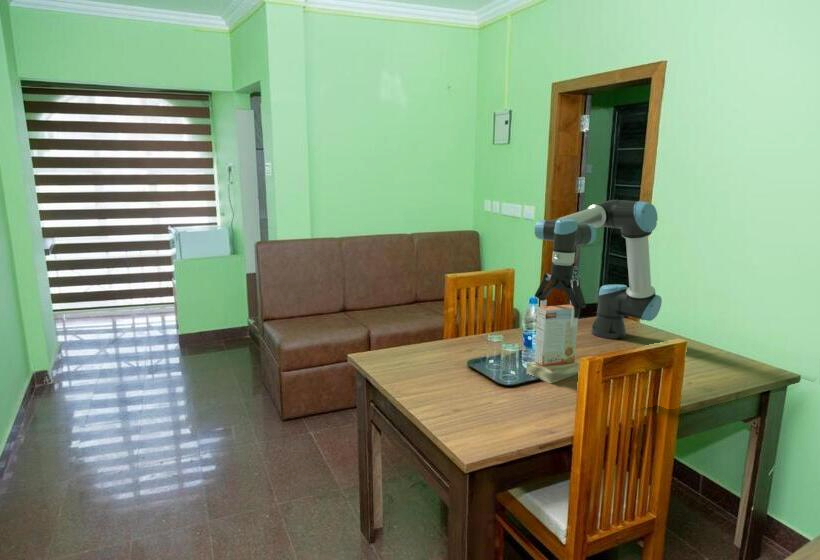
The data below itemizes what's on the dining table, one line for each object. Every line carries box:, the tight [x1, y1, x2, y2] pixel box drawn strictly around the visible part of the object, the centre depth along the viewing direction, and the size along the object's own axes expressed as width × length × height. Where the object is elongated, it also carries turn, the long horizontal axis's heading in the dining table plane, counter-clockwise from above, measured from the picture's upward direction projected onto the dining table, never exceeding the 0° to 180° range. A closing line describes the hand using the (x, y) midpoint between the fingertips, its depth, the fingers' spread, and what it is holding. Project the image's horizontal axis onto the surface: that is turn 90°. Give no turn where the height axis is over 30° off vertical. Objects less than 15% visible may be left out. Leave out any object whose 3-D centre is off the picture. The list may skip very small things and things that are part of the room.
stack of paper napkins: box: [525, 360, 580, 384], centre depth 199 cm, size 11×17×4 cm, turn 128°
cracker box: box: [533, 304, 579, 366], centre depth 197 cm, size 14×6×21 cm, turn 110°
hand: (557, 321), depth 196 cm, fingers open, 13 cm apart
